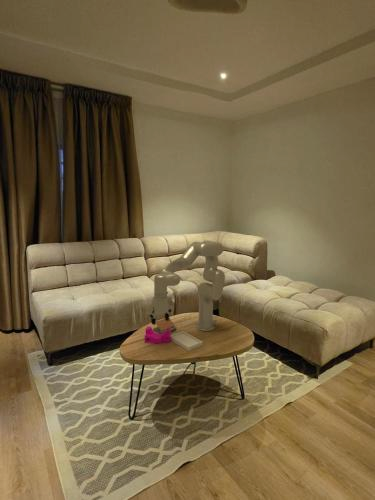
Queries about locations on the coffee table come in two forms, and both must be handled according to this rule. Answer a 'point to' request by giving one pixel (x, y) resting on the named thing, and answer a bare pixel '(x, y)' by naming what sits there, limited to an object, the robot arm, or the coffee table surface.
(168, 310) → the robot arm
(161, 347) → the coffee table surface
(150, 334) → the toy block
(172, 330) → the hinge plinth
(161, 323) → the latch flap
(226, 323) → the coffee table surface
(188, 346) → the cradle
